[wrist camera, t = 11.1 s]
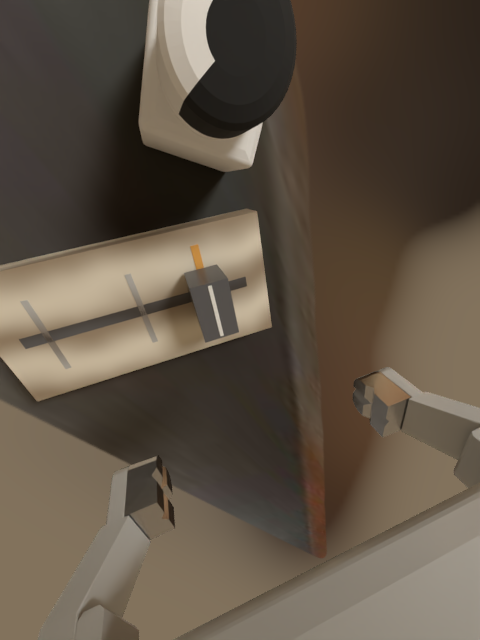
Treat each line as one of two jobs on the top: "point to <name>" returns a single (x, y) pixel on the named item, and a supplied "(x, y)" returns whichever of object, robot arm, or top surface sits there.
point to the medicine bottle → (214, 77)
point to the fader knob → (212, 302)
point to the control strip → (124, 302)
